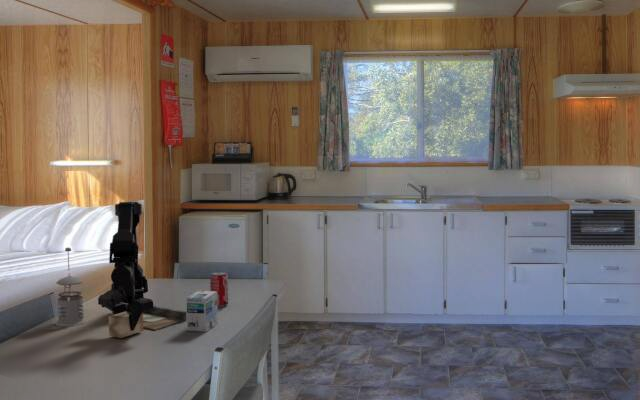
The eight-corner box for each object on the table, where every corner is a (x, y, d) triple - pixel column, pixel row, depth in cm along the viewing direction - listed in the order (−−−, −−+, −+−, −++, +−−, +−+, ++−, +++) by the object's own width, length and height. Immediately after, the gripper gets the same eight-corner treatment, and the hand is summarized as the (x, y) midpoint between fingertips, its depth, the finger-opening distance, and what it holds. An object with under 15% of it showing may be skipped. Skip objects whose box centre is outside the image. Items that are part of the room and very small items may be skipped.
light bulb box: (206, 332, 212) (206, 298, 211) (186, 331, 213) (185, 297, 212) (218, 323, 222) (218, 290, 221) (199, 322, 224) (198, 290, 223)
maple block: (109, 335, 207) (108, 316, 206) (132, 328, 215) (131, 309, 214) (120, 338, 204) (119, 318, 204) (143, 330, 212) (142, 311, 211)
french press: (57, 328, 218) (53, 250, 216) (52, 319, 228) (49, 245, 226) (89, 324, 223) (86, 248, 220) (83, 315, 233) (80, 243, 231)
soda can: (207, 307, 244) (206, 273, 243) (216, 303, 250) (215, 270, 249) (222, 308, 241) (221, 275, 240) (231, 304, 247) (230, 271, 246)
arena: (116, 322, 224) (115, 313, 224) (148, 313, 236) (148, 304, 235) (155, 330, 214) (154, 321, 214) (186, 320, 226) (186, 311, 226)
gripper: (82, 280, 206) (84, 331, 208) (125, 287, 196) (126, 340, 198) (111, 274, 216) (113, 322, 217) (153, 280, 205) (155, 331, 207)
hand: (126, 329), depth 209 cm, fingers closed on maple block, 5 cm apart
